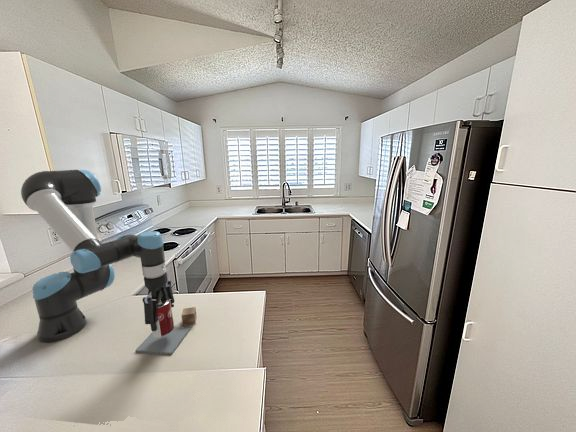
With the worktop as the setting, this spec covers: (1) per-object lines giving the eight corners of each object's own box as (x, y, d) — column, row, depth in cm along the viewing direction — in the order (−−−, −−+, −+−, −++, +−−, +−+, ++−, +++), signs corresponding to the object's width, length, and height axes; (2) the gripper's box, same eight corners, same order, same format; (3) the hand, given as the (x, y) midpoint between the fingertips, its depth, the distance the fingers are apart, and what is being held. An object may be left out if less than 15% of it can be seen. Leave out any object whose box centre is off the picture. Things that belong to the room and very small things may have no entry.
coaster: (135, 352, 92) (135, 350, 91) (158, 327, 105) (158, 325, 105) (171, 354, 90) (171, 352, 90) (190, 329, 104) (190, 327, 103)
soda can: (168, 322, 102) (164, 295, 99) (177, 329, 97) (173, 301, 94) (149, 332, 96) (145, 303, 94) (158, 340, 92) (153, 310, 89)
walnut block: (182, 325, 106) (181, 315, 105) (184, 318, 111) (183, 308, 109) (195, 323, 107) (194, 313, 106) (196, 317, 112) (195, 306, 111)
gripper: (146, 288, 81) (156, 349, 86) (179, 263, 101) (186, 314, 106) (125, 287, 82) (136, 348, 87) (162, 262, 102) (169, 313, 107)
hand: (163, 329), depth 96 cm, fingers closed on soda can, 7 cm apart
